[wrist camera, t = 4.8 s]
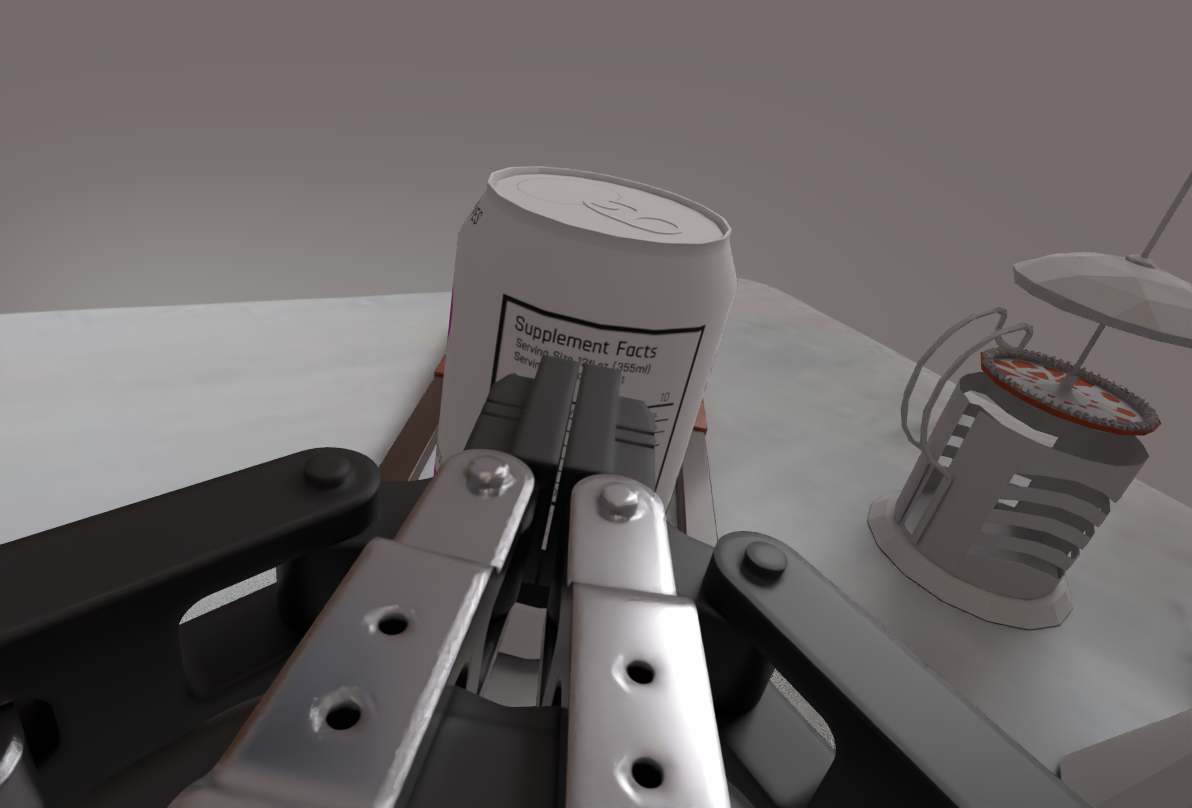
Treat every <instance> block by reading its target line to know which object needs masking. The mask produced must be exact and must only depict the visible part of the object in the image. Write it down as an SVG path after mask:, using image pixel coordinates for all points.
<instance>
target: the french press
mask: <svg viewBox="0 0 1192 808" xmlns="http://www.w3.org/2000/svg"><path fill="white" fill-rule="evenodd" d="M1191 184H1192V172H1191V174H1190V175H1189V177H1188V179H1187V180H1186V182H1185V183H1184V185H1183V187H1182V189H1181V190H1180V192H1179V194H1178V195H1177V197H1176V198H1175V200H1174V202H1173V203H1172V205H1171V207H1170V208H1169V210H1168V212H1167V213H1166V215H1165V217H1164V218H1163V220H1162V222H1161V224H1160V225H1159V227H1158V228H1157V230H1156V232H1155V234H1154V235H1153V237H1152V239H1151V240H1150V242H1149V243H1148V245H1147V247H1146V249H1145V250H1144V252H1143V253H1142V255H1129V256H1127V257H1126V258H1122V257H1118V256H1112V255H1106V254H1100V253H1094V252H1085V253H1063V254H1052V255H1049V256H1045V257H1040V258H1036V259H1032V260H1028V261H1024V262H1020V263H1016V264H1013V271H1014V280H1015V283H1016V284H1017V285H1019V286H1020V287H1021V288H1023V289H1024V290H1026V291H1027V292H1028V293H1029V294H1031V295H1033V296H1035V297H1037V298H1039V299H1041V300H1043V301H1045V302H1047V303H1049V304H1051V305H1053V306H1055V307H1057V308H1059V309H1061V310H1064V311H1066V312H1069V313H1072V314H1075V315H1077V316H1081V317H1083V318H1086V319H1089V320H1092V321H1095V322H1097V323H1100V325H1099V326H1098V328H1097V330H1096V331H1095V333H1094V335H1093V336H1092V338H1091V340H1090V341H1089V343H1088V345H1087V346H1086V348H1085V350H1084V351H1083V353H1082V355H1081V356H1080V358H1079V360H1078V361H1077V363H1076V364H1075V365H1074V366H1072V365H1071V364H1070V362H1066V363H1064V362H1063V360H1062V359H1059V360H1056V357H1055V356H1054V357H1049V354H1041V352H1036V353H1035V352H1034V351H1030V352H1029V351H1028V350H1023V349H1024V348H1025V346H1026V345H1027V343H1028V342H1029V340H1030V339H1031V337H1032V335H1033V326H1031V325H1028V324H1025V323H1020V324H1017V325H1014V326H1011V327H1008V328H1004V329H1002V327H1003V325H1004V323H1005V320H1006V318H1007V310H1006V309H1003V308H1000V307H996V308H992V309H989V310H985V311H982V312H978V313H975V314H971V315H970V316H968V317H966V318H965V319H963V320H962V321H960V322H958V323H957V324H955V325H954V326H952V327H951V328H949V329H948V330H947V331H946V332H945V333H944V334H943V335H942V336H941V337H940V338H939V339H938V340H937V341H936V342H935V343H934V344H933V345H932V346H931V347H930V348H929V350H928V351H927V352H926V353H925V354H924V355H923V356H922V358H921V359H920V360H919V361H918V363H917V365H916V367H915V370H914V372H913V374H912V376H911V378H910V380H909V382H908V385H907V387H906V389H905V391H904V396H903V401H902V405H901V419H902V428H903V430H904V432H905V434H906V436H907V438H908V440H909V441H910V442H911V443H912V444H914V445H915V446H916V447H917V448H919V449H920V450H921V451H922V453H921V455H920V457H919V459H918V461H917V463H916V465H915V467H914V468H913V470H912V472H911V474H910V476H909V478H908V480H907V482H906V484H905V486H904V488H903V490H902V491H897V492H892V493H889V494H887V495H885V496H883V497H881V498H880V499H878V500H876V501H874V502H873V503H872V506H871V509H870V513H869V517H868V523H869V525H870V528H871V530H872V532H873V535H874V537H875V539H876V542H877V544H878V546H879V547H880V548H881V549H882V550H883V551H884V552H885V554H886V555H887V556H888V557H889V558H890V559H891V560H892V561H893V562H894V563H895V565H896V566H897V567H898V568H899V569H900V570H901V571H902V572H903V573H904V574H905V575H907V576H908V577H909V578H911V579H912V580H914V581H915V582H916V583H918V584H919V585H921V586H922V587H924V588H925V589H926V590H928V591H929V592H931V593H932V594H934V595H935V596H936V597H938V598H939V599H941V600H942V601H944V602H946V603H949V604H951V605H953V606H955V607H958V608H960V609H962V610H964V611H966V612H969V613H971V614H973V615H975V616H978V617H980V618H982V619H984V620H986V621H990V622H995V623H1000V624H1005V625H1009V626H1014V627H1019V628H1024V629H1029V630H1030V629H1037V628H1043V627H1050V626H1057V625H1060V624H1061V623H1062V621H1063V620H1064V619H1065V618H1066V617H1067V615H1068V614H1069V613H1070V612H1071V610H1072V609H1073V608H1072V603H1071V597H1070V592H1069V587H1068V584H1067V581H1066V579H1065V577H1064V576H1065V570H1066V571H1067V570H1068V569H1069V568H1070V567H1071V566H1072V564H1073V563H1074V562H1075V560H1076V559H1077V558H1078V557H1079V555H1080V550H1079V548H1080V549H1083V548H1084V547H1085V546H1086V545H1087V544H1088V542H1089V541H1090V539H1091V538H1092V536H1093V535H1094V525H1095V526H1097V527H1099V526H1100V525H1101V524H1102V523H1103V521H1104V520H1105V518H1106V517H1107V515H1108V514H1109V512H1110V502H1109V498H1110V499H1111V500H1112V501H1113V502H1114V503H1116V502H1117V501H1118V500H1119V499H1120V498H1121V496H1122V495H1123V493H1124V492H1125V490H1126V489H1127V487H1128V486H1129V485H1130V483H1131V482H1132V480H1133V479H1134V477H1135V476H1136V474H1137V473H1138V472H1139V470H1140V469H1141V467H1142V466H1143V464H1144V463H1145V462H1146V460H1147V459H1148V457H1149V455H1148V453H1147V451H1146V449H1145V447H1144V446H1143V444H1142V443H1141V441H1140V440H1139V439H1138V437H1137V436H1136V435H1146V434H1148V433H1151V432H1153V431H1155V429H1157V428H1158V426H1159V425H1161V422H1160V420H1159V419H1158V417H1157V416H1158V415H1157V414H1156V413H1155V410H1154V408H1153V407H1151V406H1149V403H1144V401H1145V400H1144V399H1141V398H1140V397H1139V395H1137V396H1135V394H1134V393H1132V392H1128V391H1129V390H1128V389H1127V388H1125V389H1124V390H1123V389H1122V388H1121V386H1122V385H1118V386H1116V385H1114V383H1115V382H1114V381H1112V382H1109V381H1107V380H1108V378H1105V379H1103V378H1100V374H1098V375H1097V376H1096V375H1093V372H1092V371H1090V372H1086V371H1085V369H1086V368H1085V367H1084V368H1082V369H1080V367H1081V365H1082V364H1083V362H1084V360H1085V359H1086V357H1087V355H1088V354H1089V352H1090V351H1091V349H1092V347H1093V346H1094V344H1095V342H1096V341H1097V339H1098V337H1099V336H1100V334H1101V332H1102V331H1103V329H1104V328H1105V326H1109V327H1112V328H1116V329H1119V330H1122V331H1125V332H1129V333H1132V334H1135V335H1138V336H1142V337H1145V338H1148V339H1151V340H1156V341H1160V342H1165V343H1169V344H1174V345H1178V346H1183V347H1188V348H1192V284H1189V283H1187V282H1185V281H1183V280H1181V279H1179V278H1177V277H1175V276H1173V275H1171V274H1169V273H1167V272H1165V271H1163V270H1161V269H1158V268H1157V266H1156V265H1155V263H1154V262H1153V260H1152V259H1151V258H1148V255H1149V253H1150V252H1151V250H1152V249H1153V247H1154V245H1155V244H1156V242H1157V240H1158V239H1159V237H1160V235H1161V234H1162V232H1163V231H1164V229H1165V227H1166V226H1167V224H1168V222H1169V221H1170V219H1171V217H1172V216H1173V214H1174V212H1175V211H1176V209H1177V207H1178V206H1179V204H1180V203H1181V201H1182V199H1183V198H1184V196H1185V194H1186V193H1187V191H1188V189H1189V188H1190V186H1191ZM996 312H997V313H999V314H1000V315H1001V317H1000V319H999V321H998V324H997V326H996V329H995V332H993V333H991V334H990V335H989V336H987V337H986V338H984V339H983V340H982V341H980V342H979V343H977V344H976V345H975V346H973V347H972V348H970V349H969V350H967V351H966V352H965V353H963V354H962V355H961V356H959V357H958V359H957V360H956V361H955V362H954V363H953V364H952V366H951V367H950V368H949V369H948V370H947V371H946V373H945V374H944V375H943V376H942V377H941V379H940V380H939V381H938V383H937V385H936V387H935V389H934V391H933V393H932V395H931V397H930V399H929V401H928V403H927V405H926V407H925V409H924V411H923V417H922V424H921V434H920V442H918V441H917V440H916V439H914V438H913V437H912V434H911V432H910V430H909V428H908V426H907V414H908V401H909V398H910V396H911V393H912V391H913V388H914V386H915V383H916V381H917V379H918V376H919V374H920V371H921V369H922V366H923V365H924V364H925V363H926V362H927V360H928V359H929V358H930V356H931V355H932V354H933V353H934V352H935V350H936V349H937V348H938V347H939V346H940V345H941V344H942V343H943V342H944V341H945V340H947V338H949V337H950V335H952V334H953V333H954V332H956V331H957V330H958V329H960V328H962V327H963V326H965V325H966V324H968V323H969V322H971V321H972V320H974V319H977V318H980V317H983V316H986V315H989V314H993V313H996ZM1022 329H1024V330H1025V331H1027V333H1026V334H1025V336H1024V338H1023V339H1022V341H1021V343H1020V344H1019V346H1018V347H1016V348H1015V347H1012V346H1010V345H1008V344H1007V343H1005V342H1004V341H1003V339H1002V338H1001V336H1000V335H1003V334H1007V333H1011V332H1015V331H1019V330H1022ZM993 339H995V340H996V343H997V345H998V346H1000V347H997V348H992V349H989V350H986V351H984V352H981V368H982V370H983V372H977V373H973V374H967V375H965V376H963V377H962V378H961V379H960V380H959V382H958V384H957V386H956V387H955V389H954V391H953V393H952V395H951V397H950V399H949V401H948V403H947V405H946V407H945V409H944V410H943V412H942V414H941V416H940V418H939V420H938V422H937V424H936V426H935V428H934V430H933V432H932V433H931V435H930V437H929V439H928V441H927V427H928V422H929V418H930V413H931V410H932V408H933V406H934V404H935V402H936V400H937V398H938V396H939V394H940V392H941V390H942V388H943V387H944V385H945V383H946V381H947V380H948V379H949V378H950V377H951V376H952V375H953V373H954V372H955V371H956V370H957V369H958V368H959V367H960V366H961V365H962V363H963V362H964V361H965V360H966V359H967V358H968V357H969V356H970V355H972V354H973V353H974V352H976V351H977V350H979V349H980V348H982V347H983V346H985V345H986V344H988V343H989V342H991V341H992V340H993ZM1025 351H1026V352H1025ZM1039 354H1040V355H1039ZM1060 361H1061V362H1060ZM1067 363H1068V364H1067ZM969 390H973V391H976V392H979V393H982V394H985V395H987V396H988V397H989V398H990V399H992V400H993V401H994V402H995V403H996V404H997V405H999V406H1000V407H1001V408H1002V409H1003V410H1004V411H1006V412H1007V413H1008V414H1010V415H1011V416H1013V417H1015V418H1016V419H1018V420H1020V421H1021V422H1023V423H1025V424H1026V425H1028V426H1029V427H1031V428H1033V429H1034V430H1037V431H1040V432H1043V433H1047V434H1050V435H1053V436H1056V437H1058V439H1057V441H1056V442H1055V444H1054V446H1053V447H1052V448H1051V447H1048V446H1045V445H1043V444H1040V443H1038V442H1035V441H1033V440H1031V439H1029V438H1027V437H1025V436H1023V435H1021V434H1019V433H1017V432H1015V431H1013V430H1011V429H1009V428H1008V427H1006V426H1004V425H1002V424H1001V423H1000V422H999V421H998V420H996V419H995V418H994V417H993V416H992V415H990V414H989V413H988V412H987V411H985V410H984V409H983V408H982V407H981V406H979V405H976V404H972V403H969V400H968V399H967V397H966V396H965V395H964V393H965V392H967V391H969ZM963 414H965V415H968V416H972V417H974V418H975V420H974V422H973V424H972V426H971V427H970V428H969V427H967V426H964V425H960V424H958V422H959V420H960V418H961V416H962V415H963ZM951 435H953V436H957V437H961V438H963V439H964V440H963V442H962V444H961V446H960V448H958V447H955V446H951V445H947V443H948V441H949V439H950V437H951ZM926 442H927V443H926ZM941 455H942V456H946V457H950V458H952V459H953V460H952V462H951V464H950V466H949V468H948V467H946V466H942V465H940V464H939V463H938V462H937V461H938V460H939V458H940V456H941ZM1014 474H1017V475H1020V476H1023V477H1026V478H1028V479H1031V480H1032V481H1031V482H1030V484H1029V486H1028V487H1021V486H1018V485H1015V484H1012V483H1009V482H1010V480H1011V479H1012V477H1013V475H1014ZM999 499H1005V500H1017V501H1019V502H1018V503H1017V505H1016V507H1015V508H1014V507H1011V506H1009V505H1006V504H1003V503H1001V502H998V500H999ZM1100 508H1101V511H1100V510H1099V509H1100ZM1084 531H1085V533H1086V535H1085V534H1083V532H1084ZM1070 551H1071V558H1070V557H1069V556H1067V555H1068V553H1069V552H1070Z"/></svg>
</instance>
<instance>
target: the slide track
mask: <svg viewBox="0 0 1192 808" xmlns="http://www.w3.org/2000/svg"><path fill="white" fill-rule="evenodd" d="M445 359H446V355H445V356H444V358H443V359H442V361H441V362H440V364H439V366H438V367H437V369H436V370H435V372H434V380H433V381H432V383H431V384H430V386H429V388H428V389H427V391H426V392H425V394H424V396H423V397H422V399H421V401H420V402H419V404H418V405H417V407H416V409H415V410H414V412H413V413H412V415H411V417H410V418H409V420H408V421H407V423H406V425H405V426H404V428H403V430H402V431H401V433H400V434H399V436H398V438H397V439H396V441H395V442H394V444H393V446H392V447H391V449H390V451H389V452H388V454H387V455H386V457H385V459H384V460H383V462H382V463H381V465H380V467H379V470H380V474H381V477H380V481H416V480H418V478H419V476H420V474H421V472H422V470H423V468H424V466H425V464H426V462H427V460H428V458H429V456H430V454H431V453H432V451H433V449H434V447H435V445H436V443H437V438H438V428H439V419H440V409H441V399H442V389H443V379H444V369H445ZM706 432H707V424H706V416H705V409H704V401H703V398H702V401H701V404H700V408H699V411H698V414H697V417H696V420H695V423H694V427H693V430H692V433H691V436H690V439H689V443H688V446H687V449H686V452H685V455H684V458H683V462H682V465H681V468H680V471H679V474H678V478H677V481H676V484H677V504H678V524H679V530H680V531H681V532H683V533H685V534H686V535H688V536H690V537H693V538H695V539H697V540H699V541H702V542H704V543H706V544H709V545H711V546H713V547H715V545H716V543H717V541H718V537H717V529H716V521H715V513H714V505H713V497H712V489H711V481H710V473H709V465H708V457H707V449H706V441H705V435H706Z"/></svg>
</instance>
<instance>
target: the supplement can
mask: <svg viewBox="0 0 1192 808" xmlns="http://www.w3.org/2000/svg"><path fill="white" fill-rule="evenodd" d="M731 231H732V229H731V228H730V226H729V225H728V223H727V222H726V220H725V219H724V218H723V217H721V216H720V215H718V214H717V213H715V212H713V211H712V210H710V209H709V208H707V207H705V206H704V205H701V204H699V203H696V202H694V201H691V200H689V199H687V198H684V197H682V196H680V195H677V194H675V193H672V192H668V191H665V190H662V189H659V188H656V187H652V186H649V185H646V184H643V183H639V182H635V181H631V180H627V179H622V178H618V177H614V176H610V175H605V174H599V173H593V172H587V171H580V170H574V169H564V168H552V167H541V166H531V167H510V168H506V169H502V170H499V171H496V172H492V174H491V176H490V178H489V180H488V182H487V189H486V191H485V193H484V194H483V196H482V197H481V199H480V200H479V201H478V203H477V204H476V206H475V207H474V208H473V210H472V211H471V213H470V214H469V216H468V217H467V218H466V220H465V222H464V224H463V226H462V227H461V230H460V232H459V233H458V241H457V252H456V262H455V271H454V281H453V290H452V300H451V310H450V320H449V330H448V340H447V350H446V359H445V369H444V379H443V389H442V399H441V409H440V419H439V428H438V438H437V448H436V458H435V468H434V475H435V473H436V472H437V470H438V469H439V467H440V465H441V464H442V463H443V462H444V460H446V459H447V458H448V457H450V456H451V455H453V454H455V453H458V452H461V451H463V450H464V448H465V445H466V443H467V441H468V439H469V436H470V434H471V432H472V430H473V428H474V425H475V423H476V421H477V419H478V416H479V414H481V410H482V408H483V405H484V403H485V402H486V399H487V396H488V394H489V392H490V390H491V388H492V385H493V384H494V383H496V382H497V381H499V380H501V379H502V378H504V377H505V376H507V375H509V374H514V375H518V376H523V377H528V378H533V379H535V376H536V373H537V370H538V367H539V364H540V361H541V358H542V355H548V356H553V357H558V358H562V359H567V360H572V361H577V362H580V367H579V372H578V377H577V382H576V387H575V392H574V397H573V402H572V407H571V412H570V417H569V422H568V426H567V431H566V436H565V441H564V446H563V451H562V456H561V461H560V465H559V470H558V475H557V479H556V484H555V489H554V494H553V498H552V503H551V508H550V512H549V517H548V522H547V526H546V531H545V536H544V540H543V545H542V550H541V554H540V559H539V564H538V569H537V573H536V578H535V583H534V584H531V583H526V582H521V586H520V590H519V594H518V598H517V600H516V602H515V604H514V605H513V607H512V608H511V614H510V619H509V623H508V626H507V629H506V632H505V634H504V637H503V640H502V643H501V646H500V649H499V652H502V653H505V654H509V655H513V656H517V657H520V658H524V659H540V650H541V638H542V628H543V623H544V619H545V614H546V609H547V605H548V599H549V594H550V588H551V587H547V586H542V585H538V584H539V579H540V574H541V569H542V564H543V559H544V555H545V550H546V545H547V540H548V535H549V530H550V525H551V520H552V515H553V510H554V506H555V501H556V496H557V491H558V486H559V481H560V476H561V471H562V466H563V461H564V457H565V452H566V447H567V442H568V437H569V432H570V427H571V423H572V418H573V413H574V408H575V403H576V398H577V394H578V389H579V384H580V379H581V374H582V369H583V364H584V363H587V364H592V365H597V366H602V367H607V368H612V369H616V370H621V379H620V390H619V396H621V397H626V398H631V399H636V400H641V401H644V402H645V404H646V405H647V407H648V408H649V409H650V411H651V412H652V414H653V415H654V417H655V434H654V436H655V448H654V449H655V493H656V494H657V496H658V497H659V498H660V500H661V501H662V503H663V506H664V510H665V516H666V513H667V509H668V506H669V503H670V500H671V497H672V493H673V490H674V487H675V484H676V481H677V478H678V474H679V471H680V468H681V465H682V462H683V458H684V455H685V452H686V449H687V446H688V443H689V439H690V436H691V433H692V430H693V427H694V423H695V420H696V417H697V414H698V411H699V408H700V404H701V401H702V398H703V395H704V392H705V389H706V385H707V382H708V379H709V376H710V373H711V369H712V366H713V363H714V360H715V357H716V354H717V350H718V347H719V344H720V341H721V338H722V334H723V331H724V328H725V325H726V322H727V319H728V315H729V312H730V309H731V306H732V303H733V299H734V296H735V293H736V290H737V287H738V284H737V279H736V275H735V269H734V264H733V259H732V254H731V249H730V244H729V238H730V235H731Z"/></svg>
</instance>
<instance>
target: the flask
mask: <svg viewBox="0 0 1192 808" xmlns="http://www.w3.org/2000/svg"><path fill="white" fill-rule="evenodd" d="M1060 762H1061V781H1062V782H1063V783H1065V784H1066V785H1067V786H1068V787H1069V788H1070V789H1071V790H1073V791H1074V792H1075V793H1076V794H1077V795H1078V796H1080V797H1081V798H1082V799H1083V800H1084V801H1085V802H1087V803H1088V804H1089V805H1090V806H1091V807H1092V808H1192V708H1191V709H1189V710H1187V711H1184V712H1182V713H1179V714H1177V715H1174V716H1172V717H1169V718H1166V719H1163V720H1160V721H1157V722H1155V723H1152V724H1149V725H1146V726H1143V727H1140V728H1138V729H1135V730H1132V731H1129V732H1126V733H1124V734H1121V735H1119V736H1116V737H1113V738H1111V739H1108V740H1106V741H1103V742H1100V743H1098V744H1095V745H1092V746H1090V747H1087V748H1085V749H1082V750H1080V751H1077V752H1075V753H1072V754H1070V755H1067V756H1065V757H1062V758H1060Z"/></svg>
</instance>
